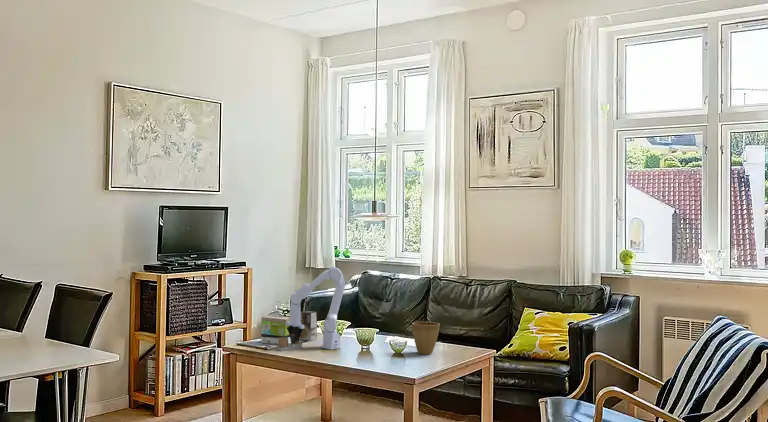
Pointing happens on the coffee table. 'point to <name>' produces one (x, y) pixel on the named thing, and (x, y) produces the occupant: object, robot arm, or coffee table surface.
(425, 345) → the plant pot
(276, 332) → the tea box
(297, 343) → the block
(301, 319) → the coffee box
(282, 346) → the rail
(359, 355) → the coffee table surface
